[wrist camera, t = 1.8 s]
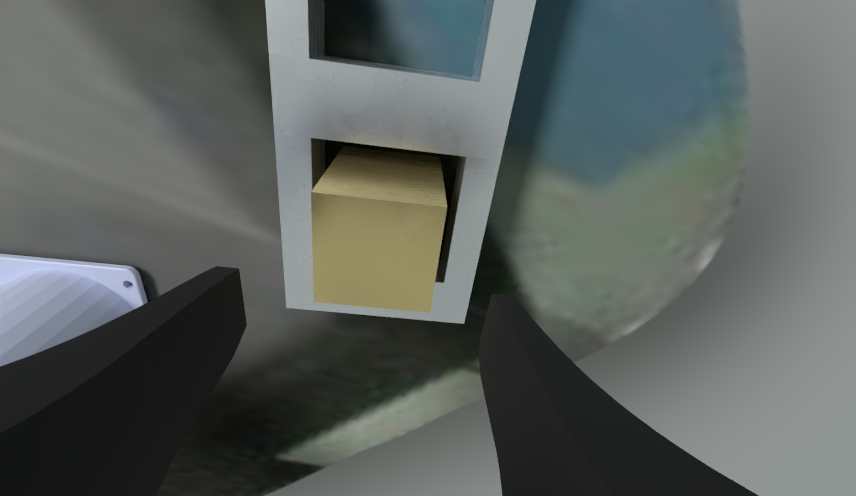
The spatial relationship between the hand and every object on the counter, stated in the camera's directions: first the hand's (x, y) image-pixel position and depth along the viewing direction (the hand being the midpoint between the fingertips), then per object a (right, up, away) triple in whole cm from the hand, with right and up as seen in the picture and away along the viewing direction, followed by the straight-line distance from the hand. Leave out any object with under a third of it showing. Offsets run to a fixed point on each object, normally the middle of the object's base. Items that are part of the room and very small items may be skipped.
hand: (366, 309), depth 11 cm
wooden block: (0, +4, +8) cm, 9 cm away
